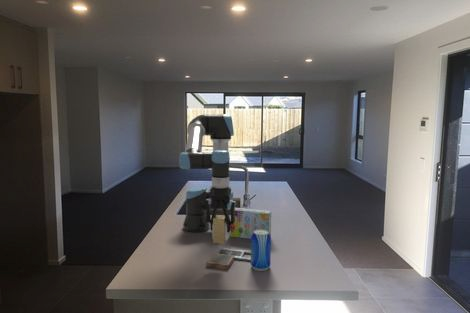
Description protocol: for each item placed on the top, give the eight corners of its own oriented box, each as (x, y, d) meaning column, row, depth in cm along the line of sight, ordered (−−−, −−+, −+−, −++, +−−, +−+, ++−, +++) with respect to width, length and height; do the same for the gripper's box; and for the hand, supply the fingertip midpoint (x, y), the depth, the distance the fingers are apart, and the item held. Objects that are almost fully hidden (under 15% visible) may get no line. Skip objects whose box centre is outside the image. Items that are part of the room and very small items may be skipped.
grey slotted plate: (216, 257, 162) (216, 255, 162) (222, 249, 170) (222, 247, 170) (260, 262, 157) (260, 260, 157) (264, 254, 165) (264, 252, 165)
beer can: (249, 263, 156) (250, 228, 154) (268, 262, 157) (269, 228, 154) (252, 272, 148) (252, 235, 145) (271, 271, 148) (272, 235, 146)
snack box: (271, 238, 187) (271, 210, 185) (268, 241, 181) (269, 213, 179) (233, 233, 193) (233, 206, 191) (229, 236, 188) (230, 209, 186)
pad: (205, 266, 152) (205, 262, 152) (213, 257, 162) (213, 253, 161) (228, 269, 150) (228, 264, 149) (234, 259, 159) (234, 255, 159)
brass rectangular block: (213, 242, 152) (213, 218, 151) (216, 238, 157) (216, 214, 156) (224, 243, 151) (224, 219, 150) (227, 239, 156) (227, 215, 155)
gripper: (197, 186, 150) (198, 239, 153) (238, 189, 145) (238, 243, 148) (203, 183, 157) (203, 233, 160) (243, 185, 152) (242, 237, 155)
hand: (220, 238), depth 154 cm, fingers closed on brass rectangular block, 5 cm apart
